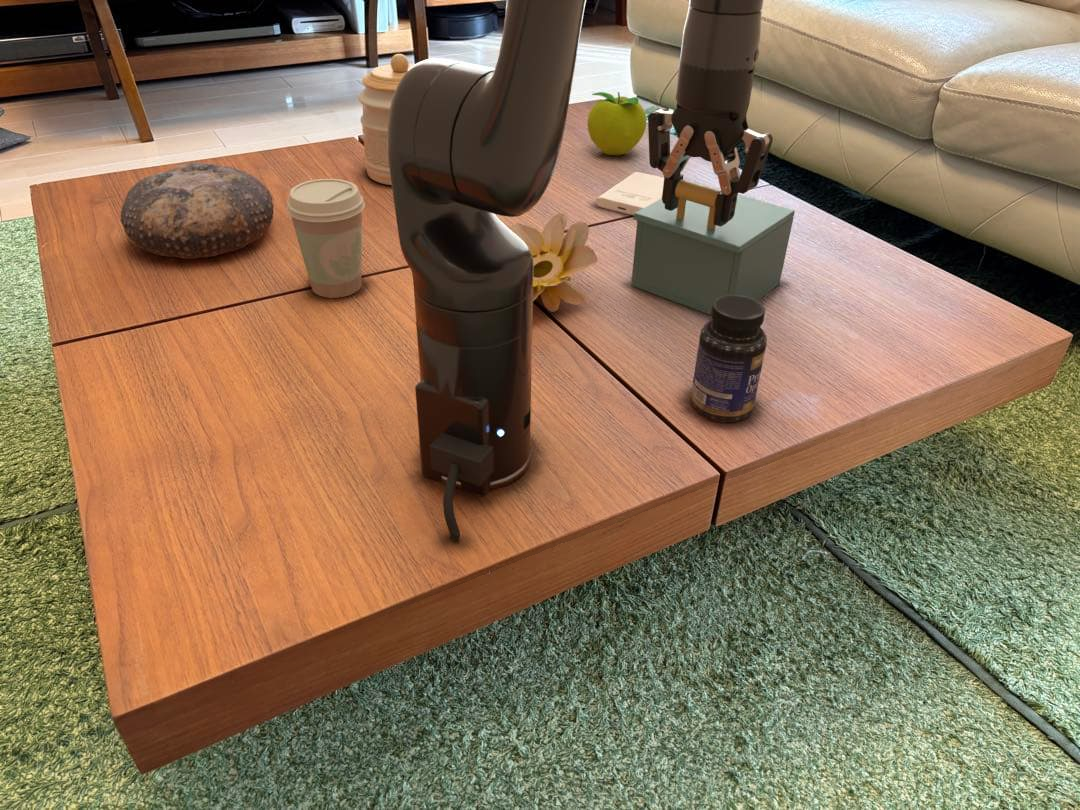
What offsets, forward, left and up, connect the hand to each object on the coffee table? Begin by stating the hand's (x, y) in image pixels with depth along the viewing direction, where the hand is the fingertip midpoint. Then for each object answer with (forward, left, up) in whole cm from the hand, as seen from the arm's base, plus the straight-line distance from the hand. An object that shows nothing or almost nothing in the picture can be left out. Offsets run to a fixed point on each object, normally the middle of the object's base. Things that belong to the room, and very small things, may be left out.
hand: (696, 215), depth 93 cm
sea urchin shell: (-14, +62, -11) cm, 64 cm away
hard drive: (+27, +16, -11) cm, 33 cm away
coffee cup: (-17, +38, -11) cm, 43 cm away
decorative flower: (-7, +17, -11) cm, 21 cm away
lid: (+4, -1, -2) cm, 5 cm away
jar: (+19, +52, -11) cm, 56 cm away
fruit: (+44, +27, -11) cm, 53 cm away
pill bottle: (-19, -10, -11) cm, 24 cm away
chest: (+5, -1, -11) cm, 12 cm away
